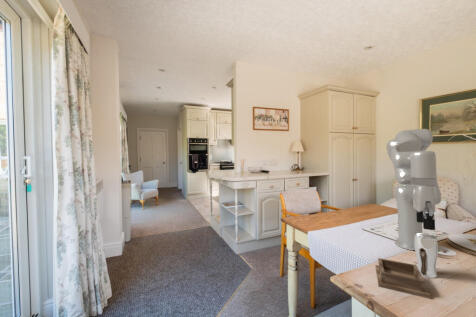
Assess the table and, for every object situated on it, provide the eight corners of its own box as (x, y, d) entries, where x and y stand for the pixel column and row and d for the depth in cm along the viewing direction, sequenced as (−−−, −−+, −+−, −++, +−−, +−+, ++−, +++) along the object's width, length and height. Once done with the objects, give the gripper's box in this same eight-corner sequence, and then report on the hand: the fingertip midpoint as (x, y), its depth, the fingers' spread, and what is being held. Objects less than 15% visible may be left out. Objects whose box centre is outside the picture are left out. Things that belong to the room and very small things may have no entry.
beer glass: (444, 279, 76) (442, 239, 76) (422, 277, 77) (421, 238, 77) (430, 269, 83) (429, 232, 83) (410, 268, 84) (409, 232, 84)
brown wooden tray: (375, 267, 85) (375, 256, 85) (419, 276, 78) (418, 264, 78) (378, 286, 73) (378, 273, 73) (430, 298, 66) (430, 284, 66)
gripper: (406, 180, 89) (408, 219, 89) (416, 184, 74) (418, 231, 74) (429, 180, 85) (431, 221, 85) (444, 184, 70) (447, 234, 70)
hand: (425, 225), depth 79 cm, fingers open, 9 cm apart
